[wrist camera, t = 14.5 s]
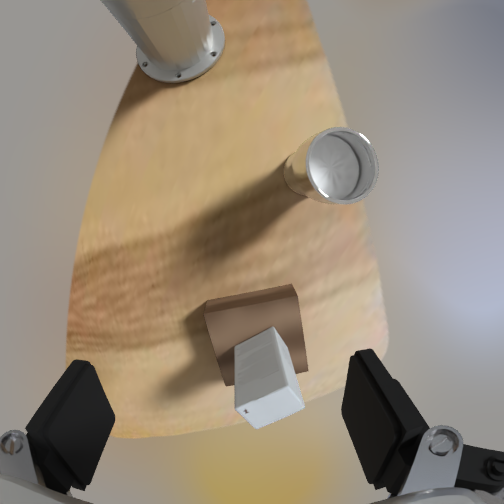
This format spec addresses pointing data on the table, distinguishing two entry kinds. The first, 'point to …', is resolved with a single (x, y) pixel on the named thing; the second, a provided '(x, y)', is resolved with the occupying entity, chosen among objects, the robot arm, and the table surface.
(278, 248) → the table surface
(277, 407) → the skincare box
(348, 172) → the beer glass
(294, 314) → the walnut block
